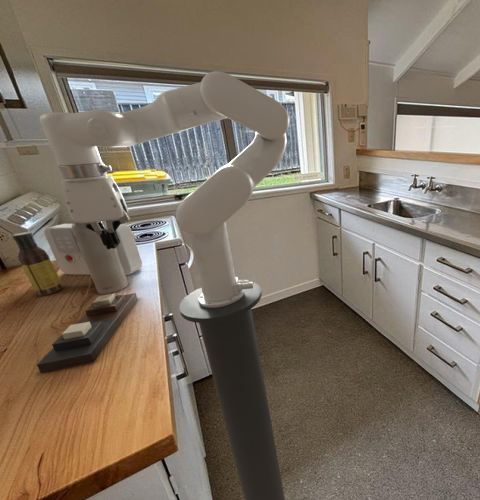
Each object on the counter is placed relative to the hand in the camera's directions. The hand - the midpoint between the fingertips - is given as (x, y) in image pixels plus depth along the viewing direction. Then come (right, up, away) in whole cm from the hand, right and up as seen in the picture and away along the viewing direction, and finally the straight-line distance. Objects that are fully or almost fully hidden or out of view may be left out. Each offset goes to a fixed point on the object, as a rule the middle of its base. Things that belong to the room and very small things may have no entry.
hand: (113, 247), depth 71 cm
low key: (-7, -15, +6) cm, 18 cm away
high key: (-2, -20, -7) cm, 21 cm away
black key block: (-2, -23, -5) cm, 24 cm away
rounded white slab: (-33, -9, +34) cm, 48 cm away
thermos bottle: (-19, -13, +22) cm, 32 cm away
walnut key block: (-7, -19, +7) cm, 21 cm away
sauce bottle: (-38, -14, +21) cm, 46 cm away
